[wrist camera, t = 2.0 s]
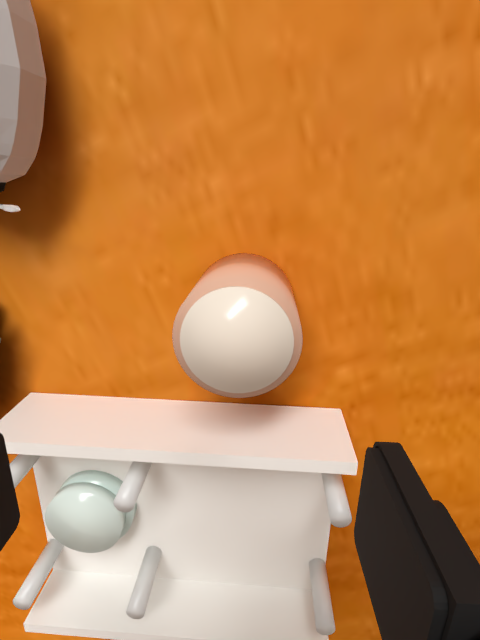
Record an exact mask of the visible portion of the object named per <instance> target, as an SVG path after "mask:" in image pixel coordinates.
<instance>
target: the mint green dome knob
mask: <svg viewBox="0 0 480 640" xmlns="http://www.w3.org/2000/svg"><path fill="white" fill-rule="evenodd" d="M122 483H123V481H122V480H120V479H119V478H117V477H116V476H114V475H111V474H109V473H106V472H102V471H97V470H86V471H81V472H78V473H75V474H73V475H71V476H70V477H69V478H68V479H67V480H66V481H65V482H64V483H63V485H62V486H61V488H60V489H59V491H58V492H57V493H56V495H55V496H54V498H53V499H52V501H51V502H50V504H49V505H48V506H47V509H46V512H45V523H46V526H47V528H48V530H49V532H50V533H51V534H52V536H53V537H54V538H55V539H56V540H57V541H59V542H60V543H61V544H63V545H64V546H66V547H68V548H70V549H73V550H76V551H79V552H85V553H97V552H102V551H105V550H107V549H109V548H111V547H112V546H113V545H115V543H116V542H117V541H118V539H119V538H121V537H123V536H124V535H125V534H126V533H127V532H128V530H129V528H130V526H131V524H132V521H133V519H134V516H135V514H136V509H137V504H135V506H134V508H133V510H132V511H130V512H121V511H119V510H117V509H116V508H115V507H114V504H113V502H114V499H115V497H116V495H117V493H118V491H119V489H120V487H121V485H122Z"/></svg>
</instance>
